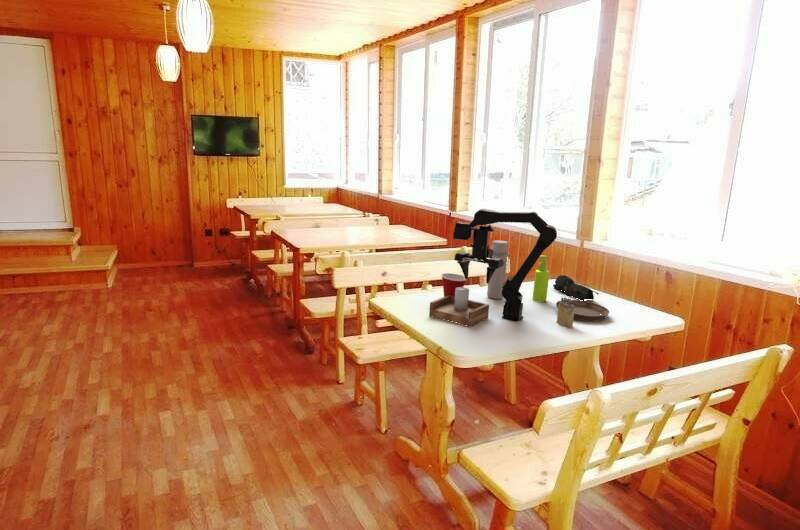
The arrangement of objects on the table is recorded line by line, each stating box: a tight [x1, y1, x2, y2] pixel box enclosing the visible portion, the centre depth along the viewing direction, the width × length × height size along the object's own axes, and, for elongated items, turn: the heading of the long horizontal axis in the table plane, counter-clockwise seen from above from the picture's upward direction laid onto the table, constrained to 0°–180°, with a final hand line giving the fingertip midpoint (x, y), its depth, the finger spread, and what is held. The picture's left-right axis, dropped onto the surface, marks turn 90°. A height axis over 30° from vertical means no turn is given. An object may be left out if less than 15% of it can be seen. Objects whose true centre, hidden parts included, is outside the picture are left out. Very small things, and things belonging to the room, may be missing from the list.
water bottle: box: [486, 239, 510, 300], centre depth 228 cm, size 9×8×25 cm
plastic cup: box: [441, 272, 468, 297], centre depth 217 cm, size 11×11×12 cm
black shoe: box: [552, 274, 599, 301], centre depth 241 cm, size 7×25×8 cm, turn 24°
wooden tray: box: [428, 295, 490, 328], centre depth 201 cm, size 18×14×6 cm
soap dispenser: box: [532, 254, 550, 303], centre depth 228 cm, size 6×7×20 cm
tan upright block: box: [556, 297, 575, 328], centre depth 198 cm, size 7×4×10 cm, turn 26°
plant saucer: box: [555, 299, 610, 322], centre depth 213 cm, size 21×21×3 cm
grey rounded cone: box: [454, 286, 470, 311], centre depth 201 cm, size 5×5×8 cm
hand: (476, 281), depth 205 cm, fingers open, 9 cm apart
